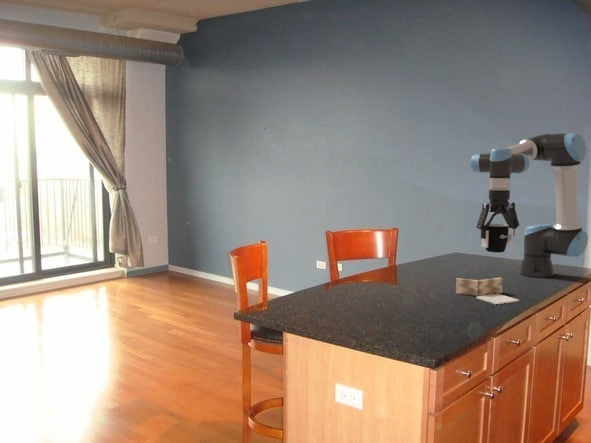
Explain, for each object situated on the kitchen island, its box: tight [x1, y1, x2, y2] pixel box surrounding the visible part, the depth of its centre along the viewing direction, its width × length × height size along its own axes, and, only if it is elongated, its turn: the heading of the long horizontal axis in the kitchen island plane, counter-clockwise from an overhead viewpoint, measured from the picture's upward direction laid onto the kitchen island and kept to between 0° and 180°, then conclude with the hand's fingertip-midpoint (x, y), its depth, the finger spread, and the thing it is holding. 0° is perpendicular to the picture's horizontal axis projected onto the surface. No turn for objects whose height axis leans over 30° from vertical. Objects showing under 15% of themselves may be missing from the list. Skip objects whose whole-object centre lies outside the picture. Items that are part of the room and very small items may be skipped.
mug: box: [484, 223, 509, 253], centre depth 220 cm, size 12×9×10 cm
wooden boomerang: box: [455, 277, 504, 297], centre depth 232 cm, size 18×8×6 cm, turn 114°
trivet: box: [476, 293, 520, 305], centre depth 221 cm, size 11×11×1 cm
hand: (497, 246), depth 220 cm, fingers closed on mug, 11 cm apart
